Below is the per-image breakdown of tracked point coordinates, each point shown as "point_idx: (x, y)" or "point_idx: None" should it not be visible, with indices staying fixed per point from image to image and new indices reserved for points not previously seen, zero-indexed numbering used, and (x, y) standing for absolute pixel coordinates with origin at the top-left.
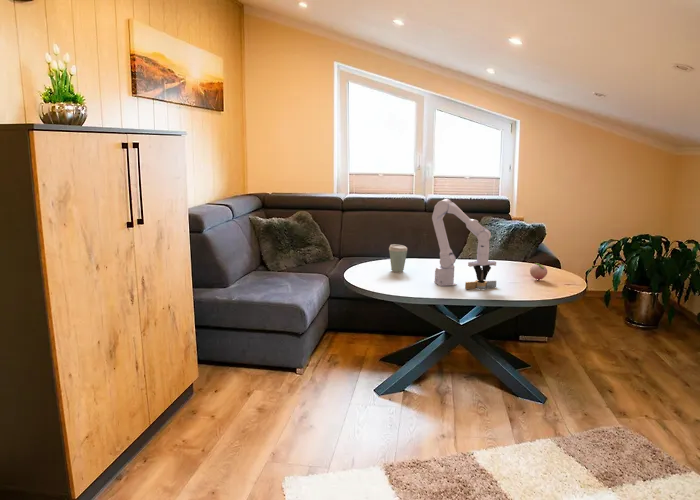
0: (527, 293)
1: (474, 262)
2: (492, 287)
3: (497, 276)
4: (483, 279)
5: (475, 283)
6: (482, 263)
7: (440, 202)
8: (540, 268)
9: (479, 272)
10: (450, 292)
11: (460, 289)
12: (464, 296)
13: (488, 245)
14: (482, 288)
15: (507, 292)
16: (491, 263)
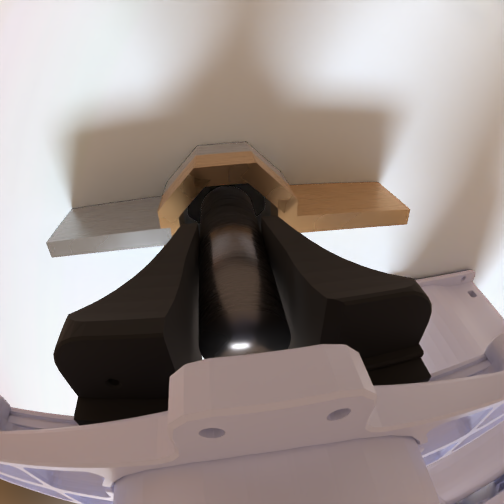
0: None
1: (465, 435)
2: (103, 204)
3: (53, 407)
4: (208, 227)
5: (302, 208)
6: (378, 430)
7: None
8: None
9: (326, 261)
10: (501, 129)
11: (417, 182)
12: (469, 7)
13: None
14: (231, 146)
15: (22, 51)
16: (28, 441)
